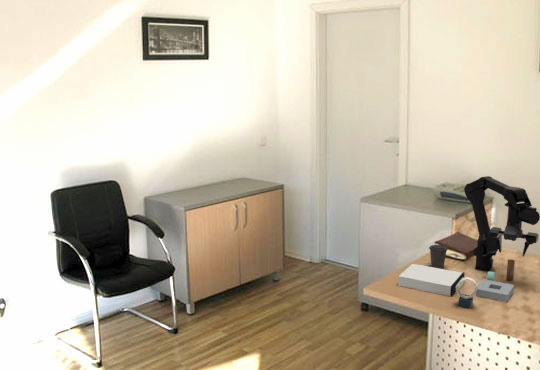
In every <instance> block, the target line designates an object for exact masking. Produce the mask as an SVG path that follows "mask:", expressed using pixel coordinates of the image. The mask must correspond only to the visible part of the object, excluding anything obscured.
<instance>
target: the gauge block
mask: <svg viewBox="0 0 540 370" xmlns="http://www.w3.org/2000/svg"><path fill="white" fill-rule="evenodd" d="M514 289H515V284H511V283H507V282H501V281H500V282H499V281H495V280H494V281H490V280H487V279H485V278H484V279H482V281H481V282H480V283H479V284H478V289H477V291H476V293H475V295H476V296H475V297H479V296H480V297H479V298H484V297H485V298H484V299H488V298H489V300H494V301H498V302H504V303H508V302H509V300H510V298H511V297H512V295H513V294H514V291H515V290H514Z"/></svg>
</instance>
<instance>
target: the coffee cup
mask: <svg viewBox="0 0 540 370" xmlns="http://www.w3.org/2000/svg"><path fill="white" fill-rule="evenodd" d="M428 249H429V252H430V264H431V265H430V267H434V268H439V269H444V267H445V262H446V255H447V251H448V247H447V246H445V245H442V244H432V245H430V246H429V248H428Z"/></svg>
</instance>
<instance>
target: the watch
mask: <svg viewBox="0 0 540 370" xmlns="http://www.w3.org/2000/svg"><path fill="white" fill-rule="evenodd" d="M466 281H470V282H471V283H473V285H474V286H475V288H474V291H473V292H472V293H471V294H470V295H469V294H465V293H462V292H461V291H460V290H459V289H461V287H463V285H464V283H465V282H466ZM478 286H479V284H478V282H477V281H476V280H475V279H474V278H473V277H469V276H464V278H462V279H461V280H460V281H459V282H458V284H457V285H456V287H455V288H456V293H457V295H458V296H459V298H458V305H457V307H459V308H464V309H469V310H470V309H471V307H472V306H473V304H474V303H473V302H474V296H475V295H476V291H477V289H478Z"/></svg>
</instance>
